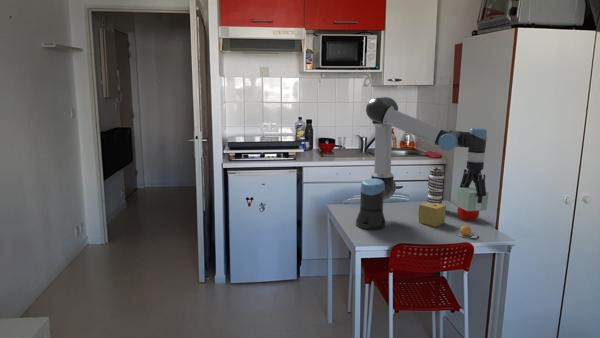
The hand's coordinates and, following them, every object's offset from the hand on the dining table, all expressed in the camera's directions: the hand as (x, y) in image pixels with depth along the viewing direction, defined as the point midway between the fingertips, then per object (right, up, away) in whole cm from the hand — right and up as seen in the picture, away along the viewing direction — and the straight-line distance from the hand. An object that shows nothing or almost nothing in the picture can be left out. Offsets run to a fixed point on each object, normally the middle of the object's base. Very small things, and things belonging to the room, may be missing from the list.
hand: (470, 206), depth 218 cm
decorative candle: (-4, -6, +46) cm, 47 cm away
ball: (-2, -12, +2) cm, 12 cm away
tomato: (+9, -10, +29) cm, 32 cm away
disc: (0, -14, +3) cm, 15 cm away
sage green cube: (0, -1, 0) cm, 1 cm away
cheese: (-13, -11, +21) cm, 27 cm away
